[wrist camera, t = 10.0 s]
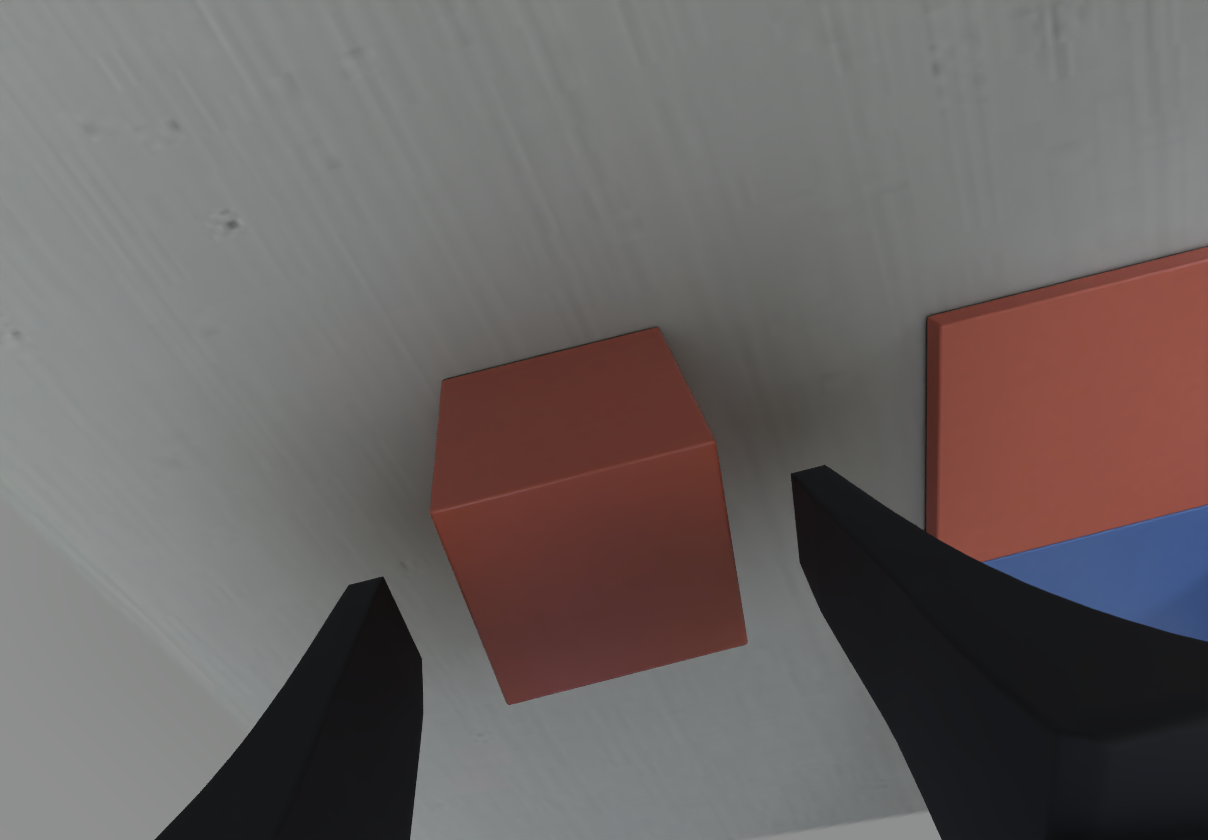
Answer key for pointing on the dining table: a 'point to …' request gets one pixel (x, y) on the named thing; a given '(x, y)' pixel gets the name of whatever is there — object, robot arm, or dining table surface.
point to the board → (1080, 439)
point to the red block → (585, 516)
